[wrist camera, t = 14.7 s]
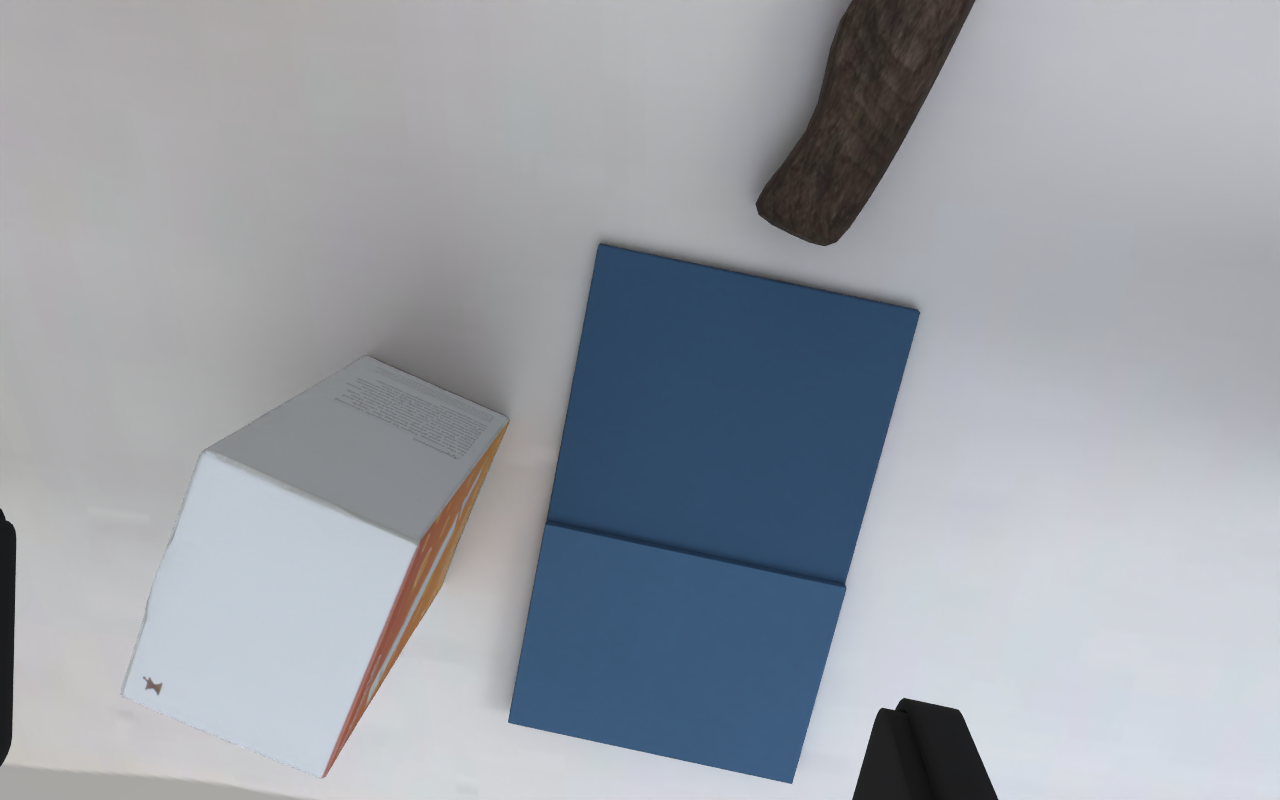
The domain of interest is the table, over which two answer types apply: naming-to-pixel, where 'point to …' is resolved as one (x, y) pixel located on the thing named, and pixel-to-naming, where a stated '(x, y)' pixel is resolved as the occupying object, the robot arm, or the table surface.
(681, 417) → the cloth
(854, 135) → the cleaver
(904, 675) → the table surface
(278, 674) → the small box
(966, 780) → the robot arm
